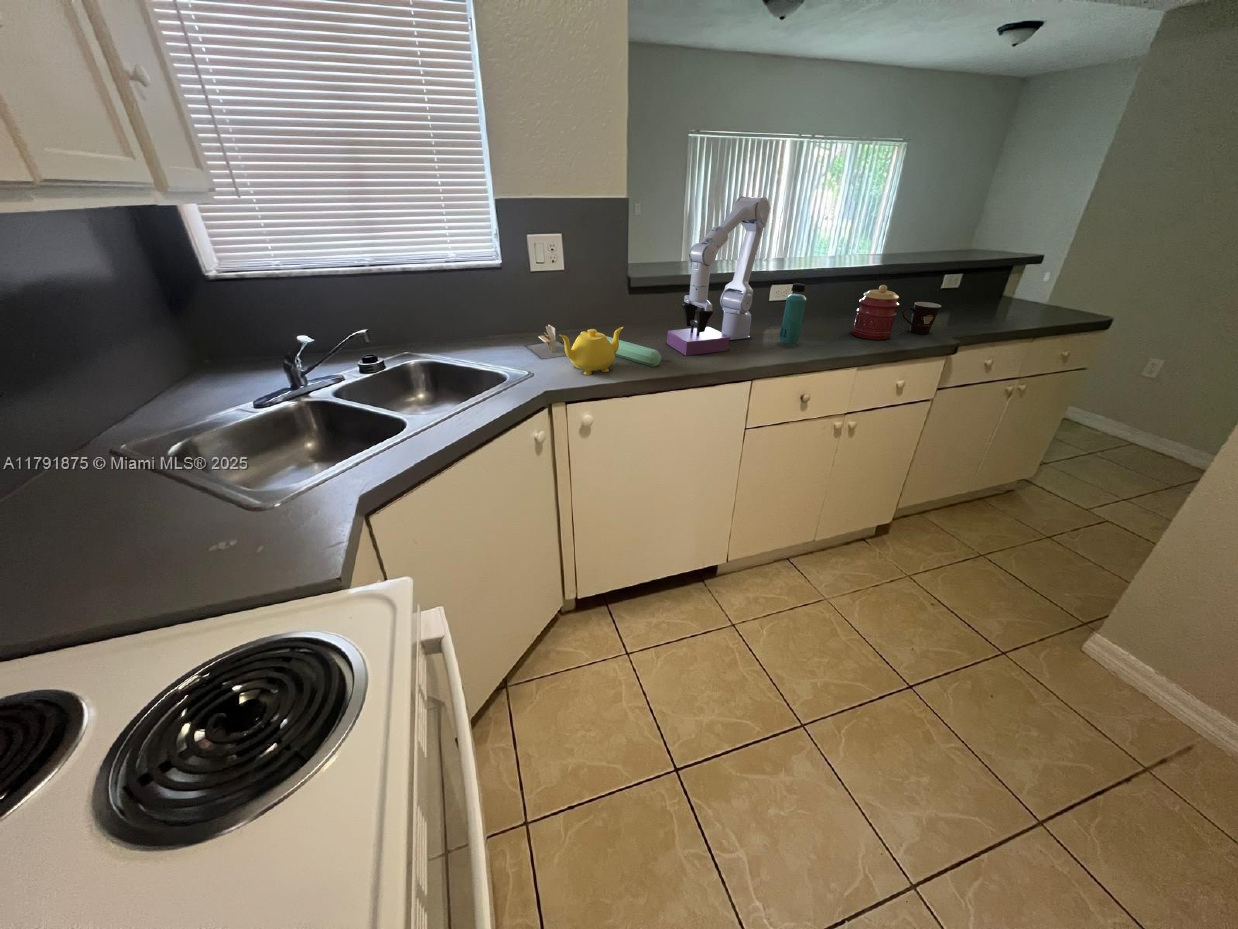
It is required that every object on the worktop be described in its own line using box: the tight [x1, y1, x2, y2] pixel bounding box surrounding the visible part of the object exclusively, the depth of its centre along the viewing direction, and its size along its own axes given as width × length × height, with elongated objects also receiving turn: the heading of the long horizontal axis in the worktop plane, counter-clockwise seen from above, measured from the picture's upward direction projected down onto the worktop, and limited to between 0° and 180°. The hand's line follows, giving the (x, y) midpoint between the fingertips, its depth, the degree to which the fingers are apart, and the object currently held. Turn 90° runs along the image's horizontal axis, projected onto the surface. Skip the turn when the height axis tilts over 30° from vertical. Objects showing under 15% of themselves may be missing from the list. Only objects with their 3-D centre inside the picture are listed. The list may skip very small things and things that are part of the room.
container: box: [605, 335, 662, 368], centre depth 151 cm, size 6×6×25 cm
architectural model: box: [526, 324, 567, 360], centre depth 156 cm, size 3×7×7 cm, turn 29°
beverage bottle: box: [779, 283, 807, 344], centre depth 161 cm, size 6×7×20 cm
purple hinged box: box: [667, 319, 731, 344], centre depth 160 cm, size 16×14×5 cm
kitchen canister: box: [851, 284, 901, 341], centre depth 174 cm, size 13×13×18 cm
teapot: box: [558, 326, 624, 376], centre depth 141 cm, size 20×15×12 cm
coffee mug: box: [901, 301, 942, 335], centre depth 182 cm, size 12×9×10 cm
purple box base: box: [666, 332, 730, 356], centre depth 162 cm, size 16×14×4 cm
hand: (695, 328), depth 159 cm, fingers open, 7 cm apart
